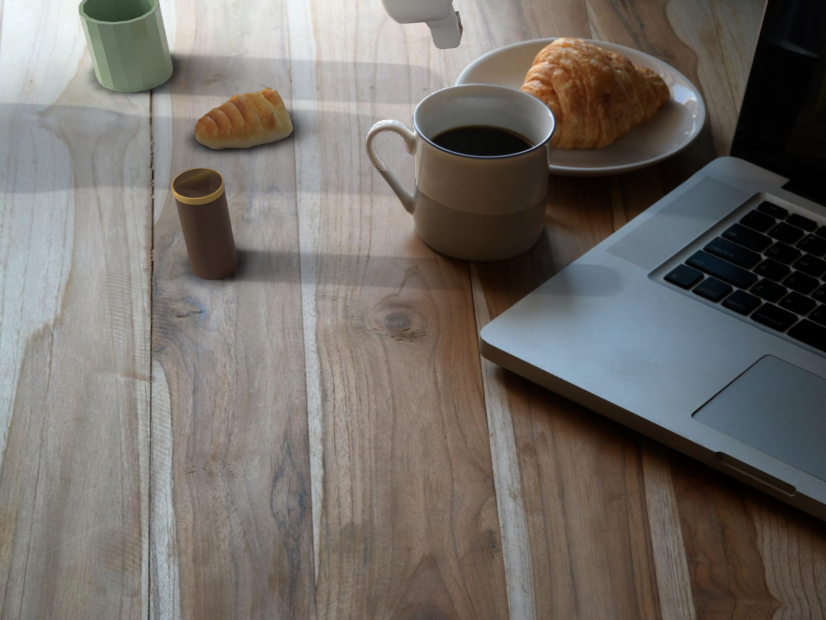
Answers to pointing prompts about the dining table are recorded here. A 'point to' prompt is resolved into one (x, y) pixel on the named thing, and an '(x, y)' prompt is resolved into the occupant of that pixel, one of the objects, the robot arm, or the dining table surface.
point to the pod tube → (205, 222)
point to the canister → (127, 43)
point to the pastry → (245, 121)
